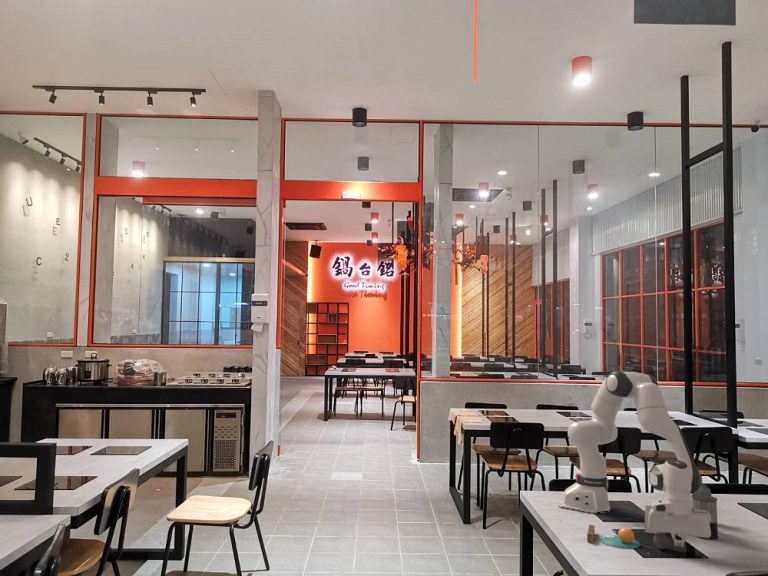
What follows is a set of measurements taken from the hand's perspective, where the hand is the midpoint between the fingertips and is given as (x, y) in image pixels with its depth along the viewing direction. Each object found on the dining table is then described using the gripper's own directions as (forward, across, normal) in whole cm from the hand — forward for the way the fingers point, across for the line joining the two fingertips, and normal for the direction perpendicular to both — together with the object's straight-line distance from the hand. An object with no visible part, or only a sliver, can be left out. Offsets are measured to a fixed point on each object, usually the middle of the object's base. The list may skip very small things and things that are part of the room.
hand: (679, 546), depth 204 cm
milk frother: (+2, -7, -25) cm, 26 cm away
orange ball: (-1, +18, 0) cm, 18 cm away
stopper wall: (+2, +30, 0) cm, 30 cm away
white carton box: (+2, +7, -18) cm, 19 cm away
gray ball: (-1, +6, +1) cm, 6 cm away
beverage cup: (+2, -12, -42) cm, 44 cm away
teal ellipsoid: (+2, +20, 0) cm, 20 cm away
